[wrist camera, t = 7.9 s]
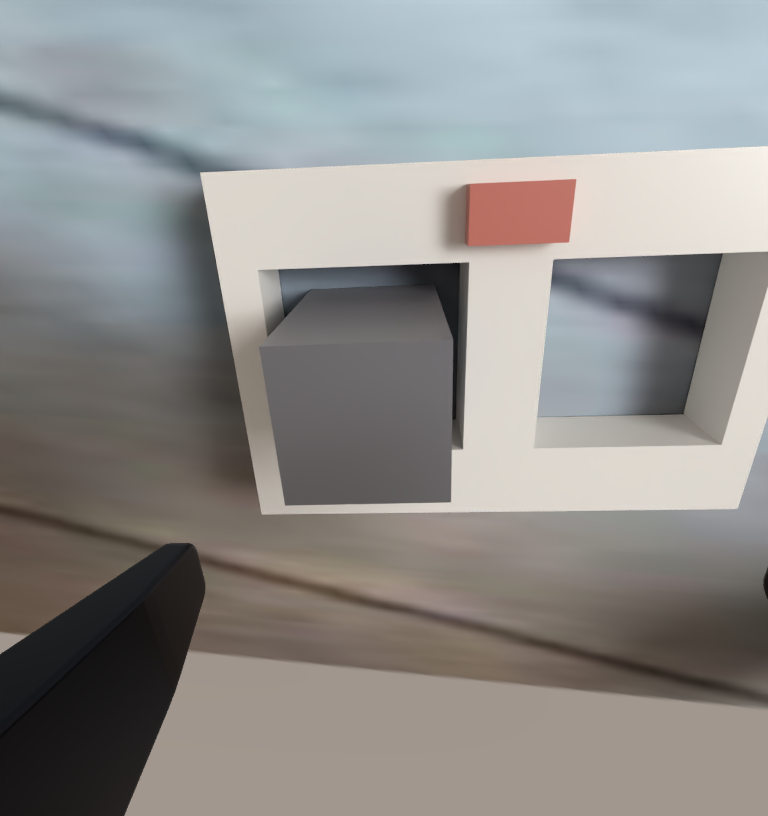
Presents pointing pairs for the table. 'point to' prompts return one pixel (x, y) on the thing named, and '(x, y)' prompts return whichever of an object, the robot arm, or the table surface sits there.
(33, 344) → the table surface
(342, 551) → the table surface
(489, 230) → the faceplate
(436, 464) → the plug
